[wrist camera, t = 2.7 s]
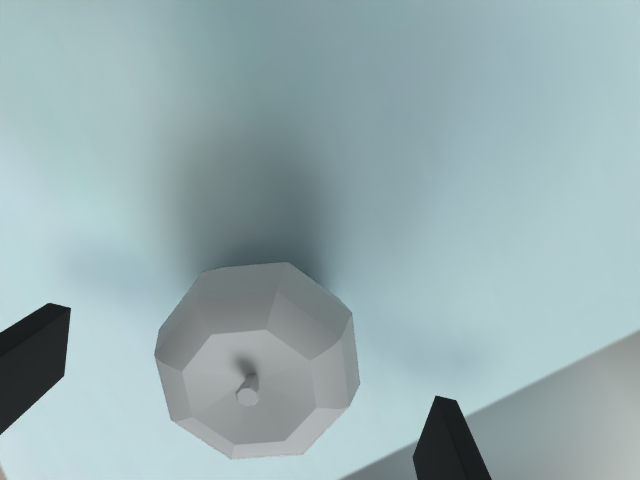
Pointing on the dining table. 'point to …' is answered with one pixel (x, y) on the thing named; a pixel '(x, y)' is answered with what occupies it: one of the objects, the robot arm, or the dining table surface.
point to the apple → (258, 360)
